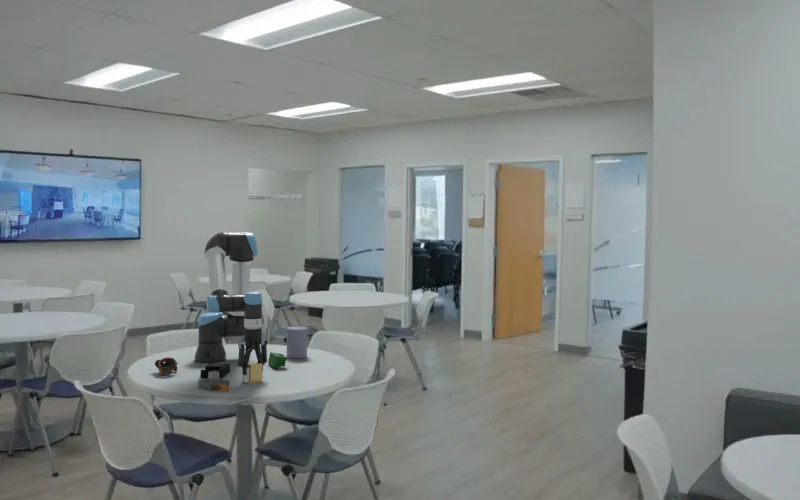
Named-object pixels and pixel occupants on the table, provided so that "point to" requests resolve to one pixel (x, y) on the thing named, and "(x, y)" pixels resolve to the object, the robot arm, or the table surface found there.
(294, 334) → the container
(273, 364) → the clamp
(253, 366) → the tan rectangular block
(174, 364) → the pottery mug
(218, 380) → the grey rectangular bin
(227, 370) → the battery charger
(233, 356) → the table surface
